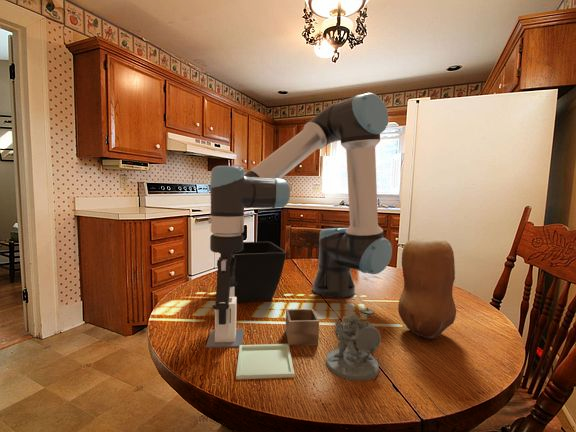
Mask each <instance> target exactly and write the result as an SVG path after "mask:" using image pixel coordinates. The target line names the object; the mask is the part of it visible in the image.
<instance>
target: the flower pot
mask: <svg viewBox="0 0 576 432" xmlns="http://www.w3.org/2000/svg"><path fill="white" fill-rule="evenodd" d="M286 255H287V252H286V251H285V250H284V249H282V248H281V247H279V246H278V245H276V244H274V243H273V242H272V241H243V250H242V251H240V252H237V253H234V257H236V264H235V281H237V286H232V287H235V295H234V297H237V304H238V303H239V304H241V303H251V302H260V301H261V302H262V301H270V300H272V299H273V298H274V295H275V293H276V291H277V288H278V285H279V283H280V279H281V277H282V273H283V269H284V264H285V261H286Z"/></svg>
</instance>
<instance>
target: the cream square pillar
mask: <svg viewBox="0 0 576 432" xmlns="http://www.w3.org/2000/svg"><path fill="white" fill-rule="evenodd" d="M220 303H224V302H220ZM237 305H238V303H237V297H229V307H230V318H229V338H216V310H215V309H214V330H215V342H235V337H236V329H237Z"/></svg>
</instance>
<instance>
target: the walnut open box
mask: <svg viewBox="0 0 576 432" xmlns="http://www.w3.org/2000/svg"><path fill="white" fill-rule="evenodd" d="M284 331H285V336H286V341H287V344H289V347H293V346H295V347H297V346H300V347H301V346H319V336H320V334H319V333H320V332H319V331H320V320H319V318H318V315H317V313H316V311H315V309H314V308H301V309H300V308H295V309H294V308H291V309H290V308H286V309H285V330H284Z"/></svg>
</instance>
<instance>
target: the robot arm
mask: <svg viewBox="0 0 576 432" xmlns="http://www.w3.org/2000/svg"><path fill="white" fill-rule="evenodd" d="M388 123H389V112H388V109H387V106H386V104H385V102H384V101H383V100H382V98H381V97H380V96H378V95H377V94H375V93H372V92H367V93H363V94H356V95H355V96H353V97H349V98H347V99H345V100H342V101H339V102H335V103H333V104H331V105H329V106H327V107H326V108H324V109H323V110H321V111H320V112H319V113H318V114H317V115H315V116H314V117H313V118H312V119H310V120H309V121H307V122H306V123H305V124H304V125H303V129H302V130H301V131H300V132H298V133H297V134H296V135H294V136H292V137H291V139H289V140H288V141H287V142H286V143H284V144H283V145H281V146H280V147H279V148H277V149H276V150H274V151H273V152H272V153H271V154H270V155H268V156H267V157H266V158H264V159H263V160H262V161H260V162H259V163H258V164H256V165H255V166H253V167H252V168H250V169H249V171H247V172H245V168H243V166H242V167H241V166H235V165H232V166H231V165H217V166H214V167H213V168H212V170H211V171H210V172H211V173H210V185H209V188H210V218H208V220H207V223H208V224H210V233H211V235H210V239H209V241H210V243H209V246H210V247H209V249H210V251H211V252H213V253H217V254H220V256H219V257H218V259H217V261H216V268H217V271H216V272H217V273H216V288H215V303H214V304H213V305H212V310H214V311H215V310H216V338H229V318H230V307H229V297H234V295H235V287H232V286H237V281H235V264H236V257H234V253H237V252H240V251H242V250H243V242H244V235H243V233H244V232H245V231H244V230H245V209H250V208H251V209H252V208H253V209H277V208H278V209H279V208H284V207H286V206H287V205H288V203H289V201H290V198H291V188H290V185H289V183H288V181H287V180H285V179H283V178H284V177H285V176H286V175H287V174H288V173H289V172H291V171H292V170H293V169H294V168H296V167H297V166H298V165H299V164H300V163H302V162H303V161H304V160H306V159H307V158H308V157H309V156H310V155H312V154H313V153H314V152H315V151H317V150H322V149H323V148H326V147H327V146H329V144H332V143H335V142H338V141H339V142H340V145H341V146H342V148H344V149H345V150H346V152H345V154H346V171H347V172H346V173H347V190H348V208H349V209H348V213H349V215H348V216H349V226H348V227H334V228H333V227H332V228H323V229H321V230H320V231H319V239H318V265H317V266H318V269H317V271H316V274H315V277H314V280H313V282H312V290H313V292H314V293H315V294H317V295H319V296H323V297H327V298H335V299H336V298H337V299H340V298H343V299H344V298H348V297H349V298H350V297H351V296H353V295H355V293H356V292H355V291H356V290H355V289H356V285H355V282H354V278H353V275H352V274H353V273H352V272H351V271H352V270H355V271H358V272H361V273H362V274H369V275H370V274H371V275H378V274H380V273H381V272H383V271H384V270H385V269H386V268H387V266H388V265H389V264H390V261H391V259H392V254H393V253H392V252H393V246H392V243H391V241H390V240H388V239H387V238H385V237H384V229H383V228H382V227H381V226H379V220H378V219H379V217H378V192H377V191H378V190H377V186H378V185H377V161H376V147H377V145H378V144H379V143H380V142H381V134H382V133H383V132H384V131H386V129H387V126H388ZM220 302H224V303H220Z"/></svg>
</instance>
